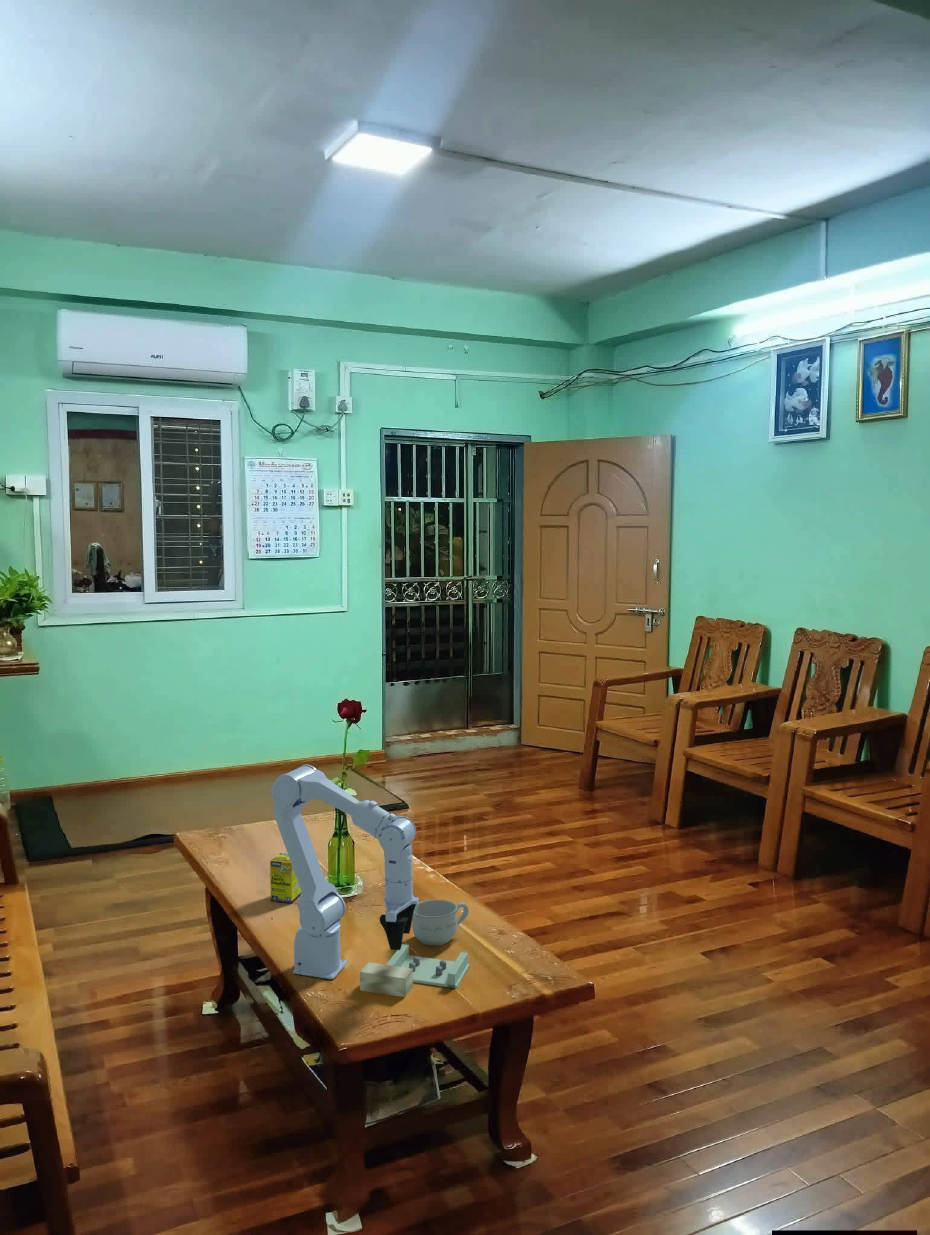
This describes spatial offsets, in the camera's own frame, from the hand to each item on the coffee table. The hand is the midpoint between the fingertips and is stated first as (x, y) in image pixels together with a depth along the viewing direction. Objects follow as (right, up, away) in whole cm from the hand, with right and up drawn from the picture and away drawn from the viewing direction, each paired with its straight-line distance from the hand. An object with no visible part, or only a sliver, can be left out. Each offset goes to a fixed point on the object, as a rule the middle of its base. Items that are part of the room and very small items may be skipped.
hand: (400, 940), depth 194 cm
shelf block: (-3, -10, 0) cm, 10 cm away
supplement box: (-32, -5, +45) cm, 56 cm away
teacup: (+8, -8, +23) cm, 25 cm away
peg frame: (+5, -9, +7) cm, 13 cm away
